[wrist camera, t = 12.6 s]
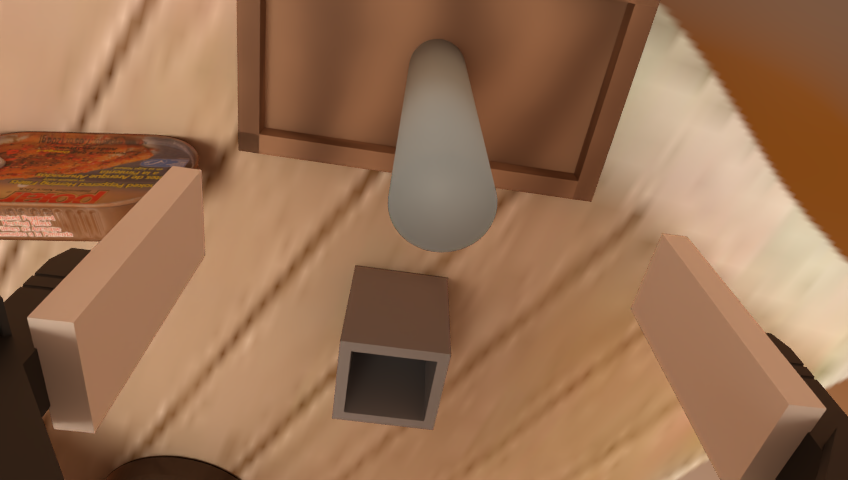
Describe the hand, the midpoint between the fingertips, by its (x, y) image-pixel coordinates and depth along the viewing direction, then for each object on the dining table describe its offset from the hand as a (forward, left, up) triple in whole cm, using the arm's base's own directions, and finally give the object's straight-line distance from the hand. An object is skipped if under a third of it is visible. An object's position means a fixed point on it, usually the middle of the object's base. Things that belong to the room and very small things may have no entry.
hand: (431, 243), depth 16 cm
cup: (0, -18, -20) cm, 26 cm away
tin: (-20, -9, -20) cm, 29 cm away
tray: (0, 0, -20) cm, 20 cm away
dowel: (0, 0, -19) cm, 19 cm away
